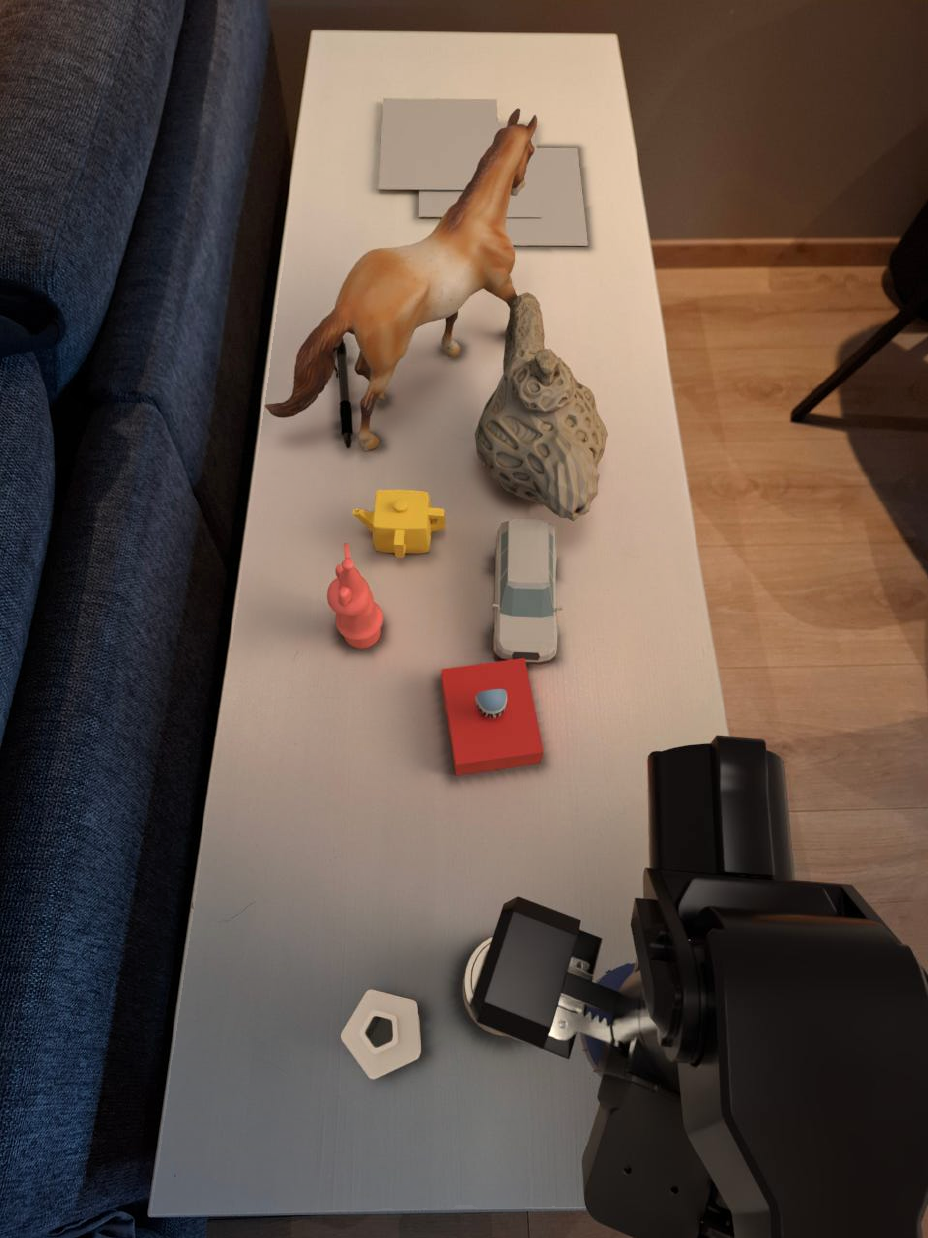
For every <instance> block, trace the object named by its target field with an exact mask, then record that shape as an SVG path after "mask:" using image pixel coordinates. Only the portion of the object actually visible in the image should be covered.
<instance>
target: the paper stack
mask: <svg viewBox="0 0 928 1238" xmlns="http://www.w3.org/2000/svg"><path fill="white" fill-rule="evenodd" d="M529 123H530V122H517V124H524V125H526V126H528V124H529ZM507 124H508V122H498V101H497V98H408V97H407V98H405V97H404V98H403V97H402V98H400V97H396V98H395V97H393V98H391V97H390V98H387V97H384V98H382V115H381V133H380V134H381V135H380V151H379V152H380V153H379V155H380V156H379V175H378V190H414V191H415V190H417V191H418V218H442V217H443V215H444V214H445V213H446V212H447V211H448V209H449V208H450V207H451V206H452V205H454V204H455V203H456V202H457V201H458V199H459V197H460V195H461V194H462V193H463V191H464V189H465V187H466V186H467V184H468V183H469V182H470V181H471V179H472V177H473V176H474V173H475V172H476V169H477V165H478V163H479V161H480V159H481V158H482V157H483V155H484V154H485V152H486V151H487V149H488V148H489V147H490V146H491V145H492V143H493V141H494V137H495V135H496V133H497V132H498V131H499V130H500V129H501V128H505V127H507ZM536 129H537V128H536ZM536 129H535V132H534V134H533V136H532V138H531V143H532V145H533V146H534V148H535V150H534V153H533V155H532V156H531V158H530V160H529V162H528V164H527V168H526V173H525V179H526V185H525V186H524V187H523V188H522V189H521V190H520V191H519V193H518V195H517V196H512V195H510V201H509V205H508V210H507V216H506V234H507V235H508V236H509V239H510V241H511V243H512V245H513V246H532V247H533V246H548V247H549V246H551V247H552V246H554V247H555V246H556V247H557V246H558V247H559V246H560V247H562V246H563V247H565V246H567V247H569V246H570V247H572V246H574V247H578V246H579V247H588V246H589V242H588V233H587V224H586V223H587V222H586V216H585V215H586V214H585V206H584V196H583V187H582V186H583V185H582V178H581V169H580V159H579V150H578V147H538V143H537V130H536Z"/></svg>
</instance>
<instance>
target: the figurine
mask: <svg viewBox="0 0 928 1238" xmlns="http://www.w3.org/2000/svg"><path fill="white" fill-rule="evenodd" d="M343 552H344V559H343V560H342V562H341V564H337V565H336V566H335V570H334V572H335V576H336V578H334V579H333V580H332V581H331V582H330V583H329V585H328V587H327V591H326V601H327V604H328V606H329V608H330V609H331V611H332V612H333V613H335V619H334V622H335V626H336V628H337V630H338V632H339V634H341V635H342V636H343V637H344V640H345V642H346V643H347V644H348V645H349V646H351V647H352V648H354V649H362V650H363V649H368V648H370V647H372V646H374V645H375V644H376V643H377V642H378V641H379V639H380V637H381V633H382V629H381V628H382V625H383V623H384V614H383V610H382V608H381V607H380V605H379V604H378V603H377V602H376V601H375V599H374V594H373V592H372V590H371V588H370V585H369V582H367V579H365V578H364V577H363V576H362V574H361V573H360V571H359V569H358V568H356V567H355V562H354V560H353V559H352V558H351V554H350V544H349V542H344V543H343Z"/></svg>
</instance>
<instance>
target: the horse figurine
mask: <svg viewBox="0 0 928 1238" xmlns="http://www.w3.org/2000/svg"><path fill="white" fill-rule="evenodd" d="M520 116H521V109H520V108H516V109H514V111H513V112H512V113H511V114H510V116H509V118H508V120H507V123H508V124H507V127H505V128H501V129H500V130H499V131H498V132H497V133H496V135H495V137H494V141H493V143H492V145H491V146H490V147H489V148H488V149H487V151H486V152H485V154H484V155H483V157H482V158H481V159H480V161H479V163H478V165H477V169H476V172H475V173H474V176H473V177H472V179H471V181H470V182H469V183H468V184H467V186H466V187H465V189H464V191H463V193H462V194H461V195H460V197H459V199H458V201H457V202H456V203H455V204H454V205H452V206H451V207H450V208H449V209H448V211H447V212H446V213H445V214H444V215H443V217H440V218H441V219H440V220H439V221H438V223H437V225H436V227H435V228H434V229H433V230H432V232H430V234H429V235H427V236H426V237H425V238H424V239H423V238H422V240H420V241H417V242H415V243H412V244H409V245H408V244H407V245H402V246H396V247H378V248H374V249H371V250H369V251H367V252H365V253H364V254H363V255H362V256H361V257H360V258H359V259H358V260H357V261H356V262H355V264H354V265H353V267H352V268H351V269H350V271H349V273H348V274H347V275H346V278H345V279H344V281H343V283H342V285H341V287H340V290H339V293H338V295H337V297H336V300H335V302H334V303H335V305H334V308H333V309H332V310H331V312H330V313H329V314H328V315H327V316H325V317H324V318H323V319H322V320H321V321H320V323H319V324H318V325H317V326H316V327H315V328H313V330H312V331H311V332H310V333H309V335H308V336H307V338H305V341H304V342H303V343H302V344H301V346H300V347H299V349H298V351H297V353H296V356H295V363H294V370H293V386H292V391H291V395H290V396H289V398H288V399H287V400H286V401H283V402H275V403H266V404H264V407H265V409H266V410H267V411H268V413H269V414H270V415H272V416H273V417H276V418H283V419H285V418H291V417H294V416H296V415H298V414H299V413H301V412H304V411H305V410H307V409H308V408H310V406H311V405H312V404H314V403H315V402H316V400H317V399H318V398H319V395H320V394H321V393H322V392H323V391H324V390H325V388H326V385H327V384H329V381H330V380H331V378H332V376H333V374H334V371H335V370H334V368H335V365H336V354H335V353H334V351H333V349H334V348H337V347H339V345H340V344H341V342H342V338H343V339H344V336H345V335H346V334H347V333H349V334H351V335H353V336H354V338H355V340H356V343H357V346H358V348H359V353H358V356H357V359H356V362H355V364H354V372H355V373H356V374H355V375H357V376H362V377H364V378H365V380H367V381H368V386H367V391H366V392H365V394H364V395H363V397H362V398H361V399H360V402H359V409H360V415H361V417H360V427H359V429H358V432H357V435H356V437H357V440H359V444H360V446H361V447H362V448H363V449H364V450H366V451H370V450H374V449H376V448H377V447H378V446H379V445H380V439H379V438H378V437H377V435H374V434H373V433H372V432H371V418H372V417H371V416H372V414H373V412H374V409H375V405H376V401H377V399H379V400H385V399H386V395H387V394H386V388H387V386H388V385H389V383H390V381H391V379H392V378H393V375H394V372H395V370H396V368H397V365H398V363H399V362H400V360H401V359H402V358H404V357H405V356H406V354H407V352H408V350H409V346H410V343H411V340H412V338H413V334H414V332H415V330H416V329H417V328H419V327H421V326H423V325H425V324H428V323H433V322H437V321H441V320H445V327H444V332H443V335H442V336H441V341H440V344H441V347H442V348H443V350H444V352H445V354H446V355H447V356H448V357H456V356H458V355H459V354H460V353H461V347H460V345H459V344H458V343H457V341H454V340H453V332H454V331H453V330H454V325H455V322H456V321H457V319H458V317H459V310H461V308H462V307H463V306H464V304H465V303H466V302H467V301H468V299H469V298H470V297H471V296H473V295H474V294H476V293H477V292H480V291H481V290H485V291H486V292H488V293H489V294H491V295H492V296H495V297H496V298H497V299H499V300H501V301H503V302H505V303H506V304H507V306H508V307H509V308H510V307H511V304H512V301H513V300H514V299H515V298H517V297H518V296H519V295H518V294H517V292H516V288H515V287H514V284H513V279H512V276H511V274H512V272H513V269H514V267H515V264H516V250H515V247H514V245H512V243H511V241H510V239H509V236H508V235H507V234H506V216H507V210H508V205H509V201H510V195H512V196H517V195H518V193H519V191H520V190H521V189H522V188H523V187H524V186H525V185H526V179H525V173H526V168H527V164H528V162H529V160H530V158H531V156H532V155H533V153H534V150H535V148H534V146H533V145H532V143H531V138H532V136H533V134H534V132H535V129H537V127H538V117H537V114H534V115H533V116H532V118H531V119H530V121H529V122H528V123H529V124H528V126H526V125H524V124H517V123H519V121H520ZM506 329H507V327H506V328H505V331H504V334H505V335H506Z"/></svg>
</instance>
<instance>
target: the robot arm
mask: <svg viewBox="0 0 928 1238" xmlns="http://www.w3.org/2000/svg"><path fill="white" fill-rule="evenodd" d="M646 775H647V782H646V784H647V831H648V833H647V834H648V835H647V836H648V867H644V869H643V873H642V890H643V891H642V897H634V902H633V907H632V914H631V920H630V928H631V933H632V940H633V943H634V948H635V954H636V959H635V962H634V963H635V967H634V971H633V974H632V975H630V976H629V977H628V978H627V979H626V980H625V982H624V983H623V984H622V986H621V988H620V989H619V991H618V992H617V991H615V990H612V989H610V988H607V987H605V986H602V985H599V984H597V983H595V982H594V976H595V972H596V968H597V964H598V960H599V956H600V952H601V947H602V943H603V938H602V937H600V936H597V935H595V934H592V933H590V932H587V931H585V930H583V929H580V926H581V919H579V918H577V917H574V916H571V915H568V914H565V913H563V912H561V911H558V910H555V909H553V908H551V907H547V906H544V905H542V904H539V903H537V902H534V901H531V900H529V899H527V898H523V897H521V896H519V895H518V896H515V897H514V898H512V899H510V900H508V901H506V902H504V903H503V905H502V908H501V910H500V913H499V916H498V919H497V922H496V926H495V929H494V931H493V933H492V936H493V937H492V940H491V943H490V946H489V949H488V952H487V955H486V958H485V961H484V964H483V967H482V970H481V973H480V976H479V979H478V982H477V985H476V988H475V991H474V994H473V997H472V1000H471V1003H470V1006H469V1009H470V1011H471V1013H472V1016H473V1018H474V1020H475V1022H474V1023H475V1024H476V1025H477V1024H479V1025H481V1026H483V1027H486V1028H488V1029H491V1030H493V1031H496V1032H498V1033H501V1034H503V1035H506V1036H505V1037H509V1038H511V1039H513V1040H515V1041H518V1042H521V1043H523V1044H525V1045H528V1046H531V1047H534V1048H537V1049H539V1050H544V1051H547V1052H549V1053H552V1054H554V1055H556V1056H559V1057H561V1058H565V1059H566V1060H570V1058H571V1055H572V1051H573V1048H574V1045H575V1042H576V1037H577V1035H578V1033H580V1032H581V1033H583V1034H586V1035H588V1036H591V1037H593V1038H596V1039H598V1040H601V1041H603V1042H606V1043H604V1045H603V1048H602V1051H601V1055H600V1059H599V1063H598V1067H597V1070H596V1072H597V1073H600V1074H602V1075H603V1076H602V1078H601V1079H600V1082H599V1083H600V1084H599V1087H598V1091H597V1096H596V1097H597V1098H596V1099H597V1100H598V1103H599V1105H598V1108H597V1112H596V1115H595V1118H594V1121H593V1124H592V1127H591V1130H590V1134H589V1138H588V1139H587V1143H586V1145H585V1148H584V1150H583V1154H582V1158H581V1174H582V1187H583V1188H582V1190H583V1191H582V1192H583V1203H584V1206H585V1210H586V1211H587V1213H588V1214H589V1215H588V1216H590V1217H591V1218H592V1219H593V1220H594V1221H595V1222H597V1223H598V1224H601V1225H602V1226H604V1227H607V1228H610V1229H611V1230H614V1231H616V1232H619V1233H620V1234H623V1235H625V1236H628V1237H630V1238H924V1233H923V1226H922V1222H923V1220H924V1217H925V1214H926V1211H927V1208H928V973H927V972H928V971H926V969H925V968H924V967H923V966H922V964H921V962H920V960H919V958H918V956H917V954H916V952H915V951H914V950H913V948H911V947H910V946H909V945H908V944H904V943H903V942H902V941H901V940H900V939H899V938H898V936H897V935H896V934H895V933H894V932H893V931H892V930H891V928H890V927H889V926H888V925H887V924H886V922H885V921H884V919H882V918H881V916H880V915H879V914H878V913H877V912H876V911H875V909H874V908H873V907H872V906H871V905H870V903H868V901H867V900H866V899H865V898H864V896H862V894H861V893H860V892H859V891H858V890H857V889H856V887H855V886H854V885H853V884H849V883H848V884H847V883H836V882H835V883H834V882H833V883H832V882H824V881H823V882H822V881H812V880H811V881H810V880H799V879H796V875H795V864H794V855H793V844H792V832H791V823H790V812H789V811H790V809H789V800H788V789H787V782H786V781H787V780H786V778H787V777H786V768H785V761H784V759H782V757H781V756H780V755H778V754H777V753H774V752H773V751H771V750H768V749H767V743H766V740H765V739H764V738H755V737H742V736H730V735H718V734H717V735H715V737H714V738H713V739H712V740H711V742H709V743H707V742H706V743H696V744H695V743H693V744H686V745H681V746H675V747H671V748H668V749H664V750H654V751H651V752H650V753H649V754H648V755H647V758H646ZM585 1006H589V1007H591V1008H594V1009H596V1010H599V1011H601V1012H604V1013H606V1014H609V1015H611V1016H612V1021H611V1022H610V1024H609V1025H607V1018H603V1020H602V1021H601V1022H599V1015H595V1017H594V1018H593V1020H592V1019H591V1012H588V1013H587V1014H586V1015H585V1016H584V1010H585ZM474 1020H473V1021H474ZM597 1073H596V1074H597Z"/></svg>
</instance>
